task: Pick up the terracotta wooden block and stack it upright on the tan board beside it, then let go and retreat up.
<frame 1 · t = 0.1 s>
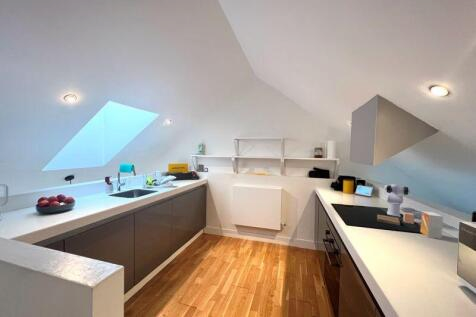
hand: (398, 190, 142), 22 cm above the worktop, tool horizontal, fingers open, 7 cm apart
small box: (430, 235, 119), on the worktop
tan board: (387, 221, 143), on the worktop
terracotta block: (408, 222, 143), on the worktop
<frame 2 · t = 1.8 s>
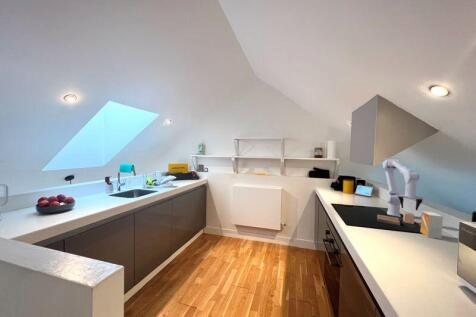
hand: (409, 208, 142), 9 cm above the worktop, tool pointing down, fingers open, 7 cm apart
nothing on the worktop moved.
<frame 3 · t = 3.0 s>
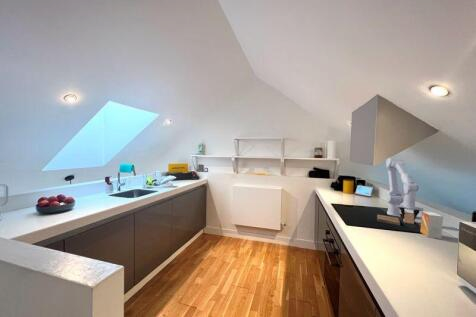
hand: (408, 219, 143), 2 cm above the worktop, tool pointing down, fingers closed on terracotta block, 5 cm apart
terracotta block: (408, 222, 143), on the worktop, touching gripper
everything else where it was.
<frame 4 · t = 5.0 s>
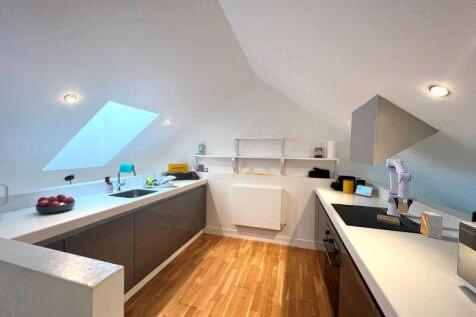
hand: (402, 209, 142), 9 cm above the worktop, tool pointing down, fingers closed on terracotta block, 5 cm apart
terracotta block: (402, 211, 142), point 7 cm above the worktop, touching gripper
everything else where it was.
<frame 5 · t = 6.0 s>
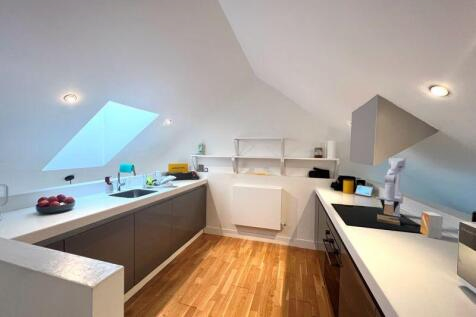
hand: (388, 211, 143), 7 cm above the worktop, tool pointing down, fingers closed on terracotta block, 5 cm apart
terracotta block: (388, 213, 143), point 5 cm above the worktop, touching gripper
everything else where it was.
when the fingers open (5 cm above the worktop, at t = 6.9 s): terracotta block drops 1 cm, resting on tan board.
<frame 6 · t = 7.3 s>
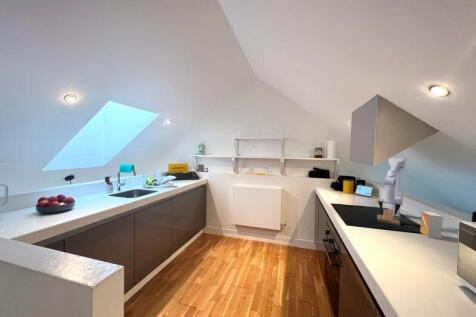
hand: (388, 213, 143), 5 cm above the worktop, tool pointing down, fingers open, 7 cm apart
terracotta block: (388, 218, 143), point 2 cm above the worktop, touching tan board
everything else where it was.
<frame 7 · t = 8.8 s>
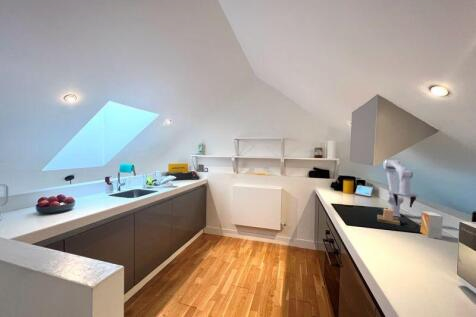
hand: (403, 206, 144), 10 cm above the worktop, tool pointing down, fingers open, 7 cm apart
nothing on the worktop moved.
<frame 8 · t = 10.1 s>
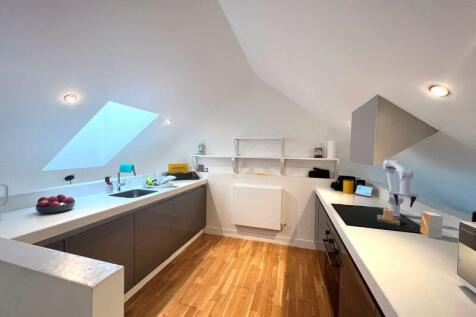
hand: (403, 206, 144), 10 cm above the worktop, tool pointing down, fingers open, 7 cm apart
nothing on the worktop moved.
at the end: terracotta block 0.0 cm off-centre on the tan board, point 2.0 cm above the tan board's base; terracotta block tilted 0°; the gripper is holding nothing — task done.
